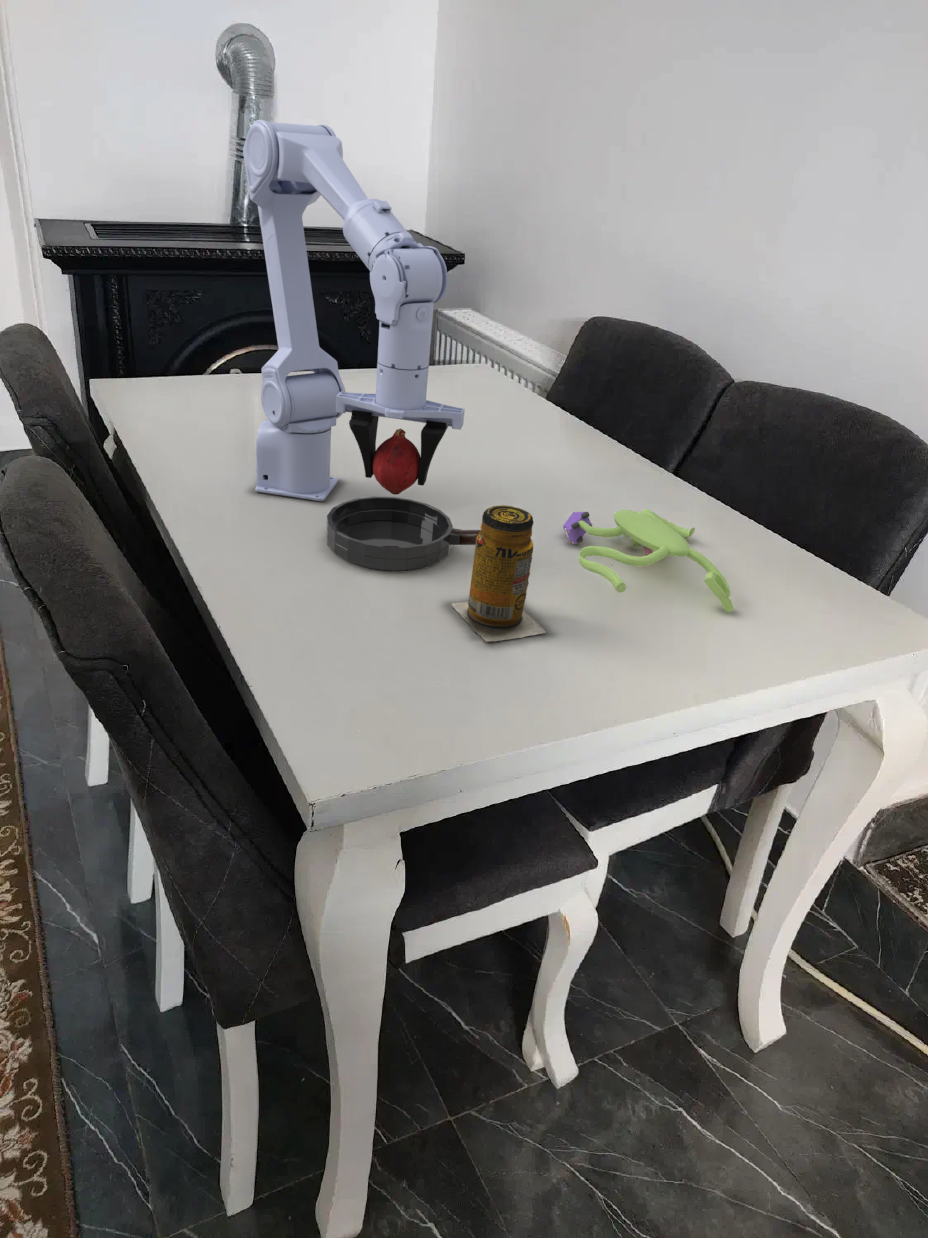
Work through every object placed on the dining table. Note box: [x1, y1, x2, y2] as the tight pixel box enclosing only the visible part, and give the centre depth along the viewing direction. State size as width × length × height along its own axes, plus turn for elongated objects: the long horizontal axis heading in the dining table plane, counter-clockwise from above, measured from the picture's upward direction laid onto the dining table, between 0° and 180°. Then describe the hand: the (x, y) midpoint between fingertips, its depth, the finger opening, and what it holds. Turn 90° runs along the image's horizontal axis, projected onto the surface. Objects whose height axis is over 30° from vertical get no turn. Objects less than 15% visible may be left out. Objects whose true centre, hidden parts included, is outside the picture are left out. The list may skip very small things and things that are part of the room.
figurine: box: [562, 508, 734, 613], centre depth 113 cm, size 18×27×6 cm
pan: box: [326, 495, 454, 573], centre depth 112 cm, size 15×15×3 cm
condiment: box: [450, 504, 547, 643], centre depth 96 cm, size 7×8×12 cm
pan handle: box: [449, 527, 481, 546], centre depth 110 cm, size 10×2×3 cm, turn 82°
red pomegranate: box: [372, 428, 421, 496], centre depth 108 cm, size 6×6×8 cm
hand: (395, 478), depth 109 cm, fingers closed on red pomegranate, 5 cm apart
